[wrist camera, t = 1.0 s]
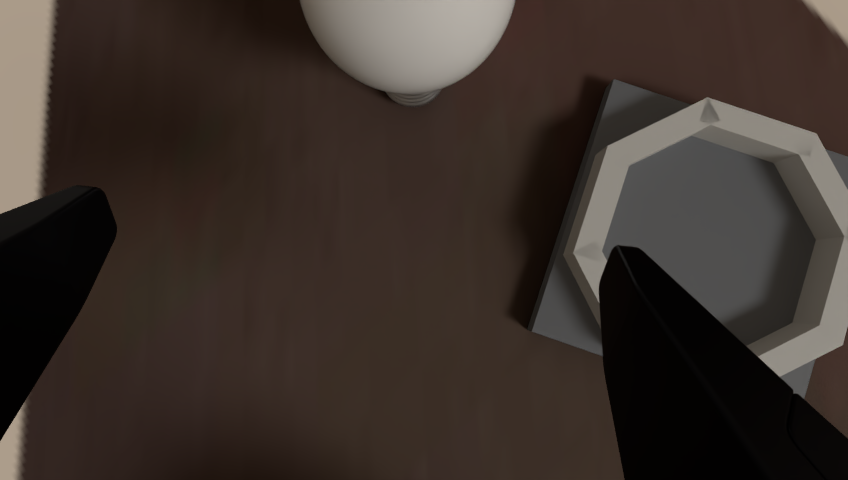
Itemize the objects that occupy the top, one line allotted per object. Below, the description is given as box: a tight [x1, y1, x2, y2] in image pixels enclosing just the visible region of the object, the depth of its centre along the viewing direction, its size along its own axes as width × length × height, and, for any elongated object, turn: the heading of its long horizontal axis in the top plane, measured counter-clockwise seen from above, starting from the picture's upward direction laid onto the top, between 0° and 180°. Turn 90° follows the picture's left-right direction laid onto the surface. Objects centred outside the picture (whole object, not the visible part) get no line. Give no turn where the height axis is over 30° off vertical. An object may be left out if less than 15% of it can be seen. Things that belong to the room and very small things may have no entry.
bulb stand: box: [527, 79, 848, 399], centre depth 22 cm, size 11×11×2 cm
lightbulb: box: [300, 0, 515, 107], centre depth 18 cm, size 6×6×11 cm
